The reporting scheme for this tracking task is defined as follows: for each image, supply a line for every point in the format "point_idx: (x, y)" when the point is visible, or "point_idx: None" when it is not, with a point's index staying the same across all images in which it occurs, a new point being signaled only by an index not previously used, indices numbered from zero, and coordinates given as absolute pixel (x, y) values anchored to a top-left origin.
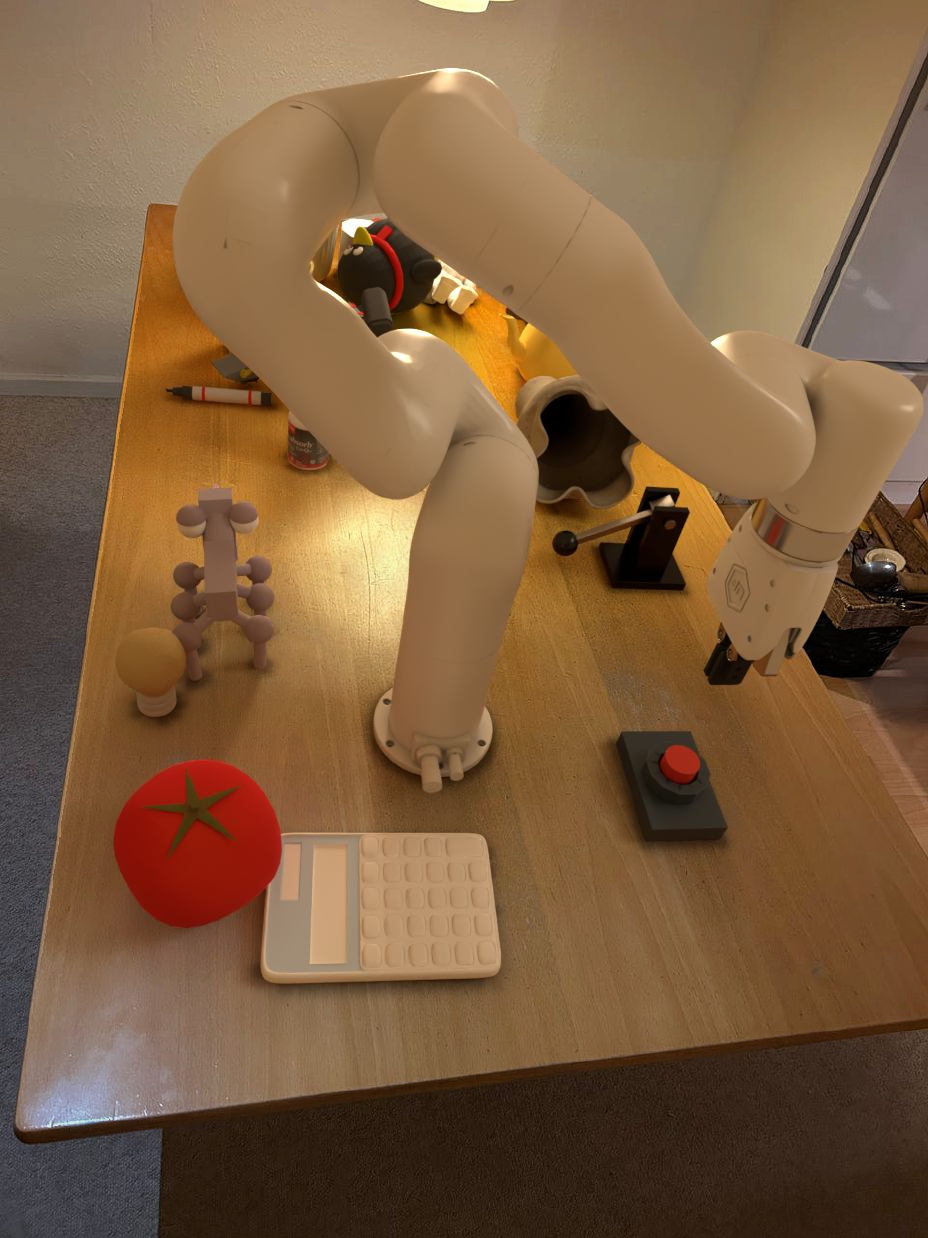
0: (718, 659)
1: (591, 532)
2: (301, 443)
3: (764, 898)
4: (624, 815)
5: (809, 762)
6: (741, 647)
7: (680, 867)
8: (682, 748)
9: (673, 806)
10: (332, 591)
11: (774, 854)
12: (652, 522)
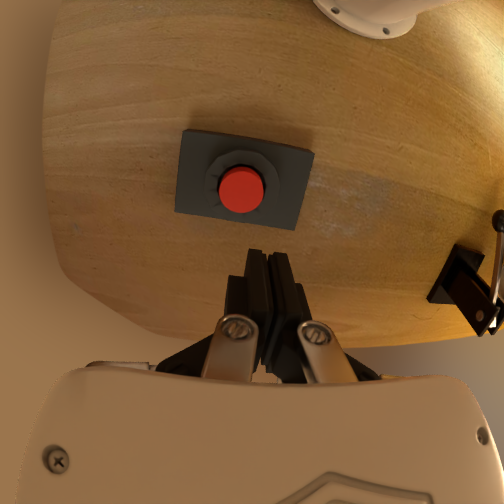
0: (262, 292)
1: (502, 247)
2: None
3: (124, 216)
4: (221, 118)
5: None
6: (87, 399)
7: (156, 153)
8: (256, 199)
9: (206, 166)
10: (492, 21)
11: (161, 245)
12: (489, 302)
